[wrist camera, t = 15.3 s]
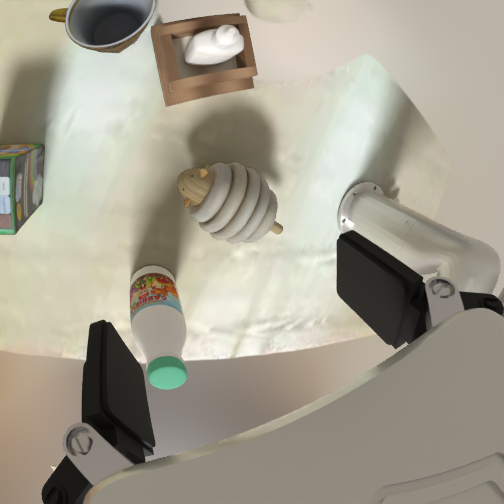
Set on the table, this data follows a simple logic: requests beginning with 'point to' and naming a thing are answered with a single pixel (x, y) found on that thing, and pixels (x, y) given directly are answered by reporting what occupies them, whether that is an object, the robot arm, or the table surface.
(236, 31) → the eye dropper bottle
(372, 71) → the table surface
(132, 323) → the milk bottle
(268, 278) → the table surface
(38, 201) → the chalk box
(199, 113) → the table surface
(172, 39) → the walnut socket block
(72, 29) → the ceramic cup
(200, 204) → the toy sheep
